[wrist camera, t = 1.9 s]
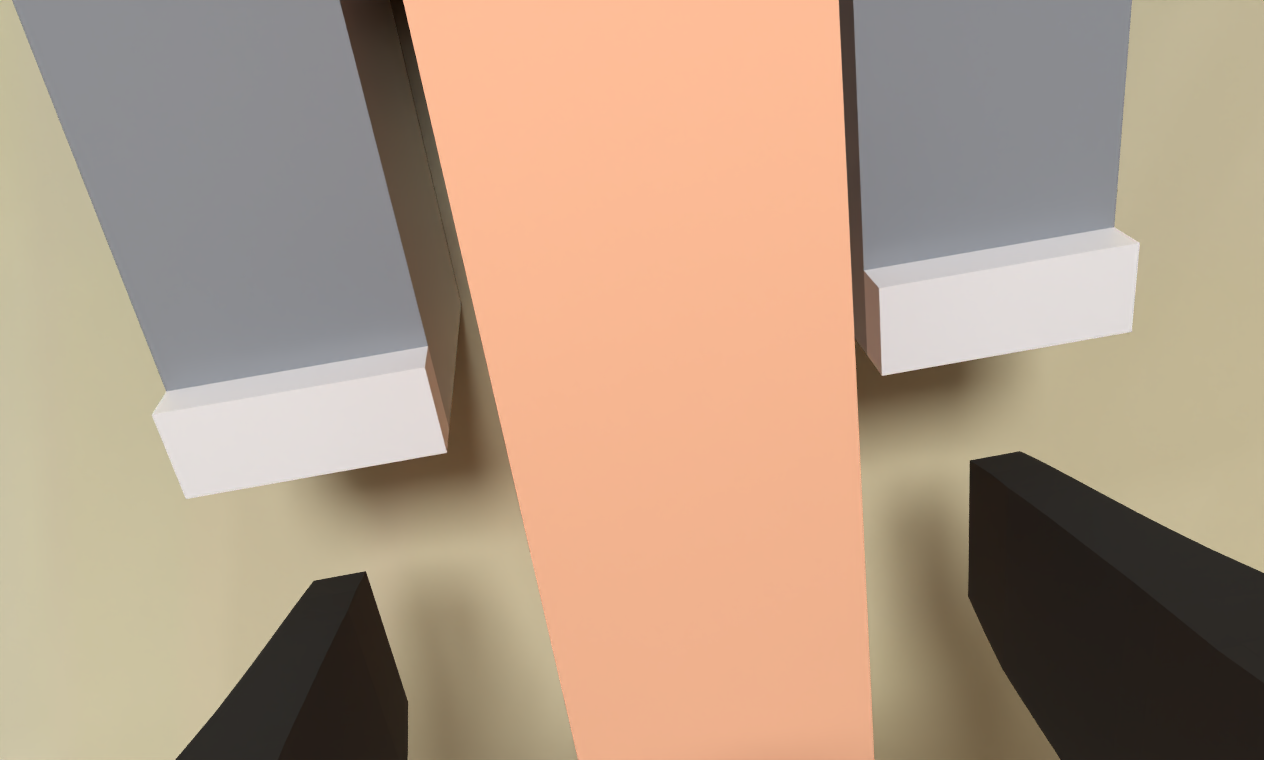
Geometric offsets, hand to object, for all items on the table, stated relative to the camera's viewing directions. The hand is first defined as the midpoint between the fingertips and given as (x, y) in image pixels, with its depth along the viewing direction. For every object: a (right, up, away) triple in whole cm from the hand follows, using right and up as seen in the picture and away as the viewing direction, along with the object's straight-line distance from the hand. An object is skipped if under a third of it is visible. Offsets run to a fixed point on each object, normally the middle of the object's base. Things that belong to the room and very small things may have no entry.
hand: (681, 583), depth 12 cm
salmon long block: (-1, +5, +2) cm, 5 cm away
